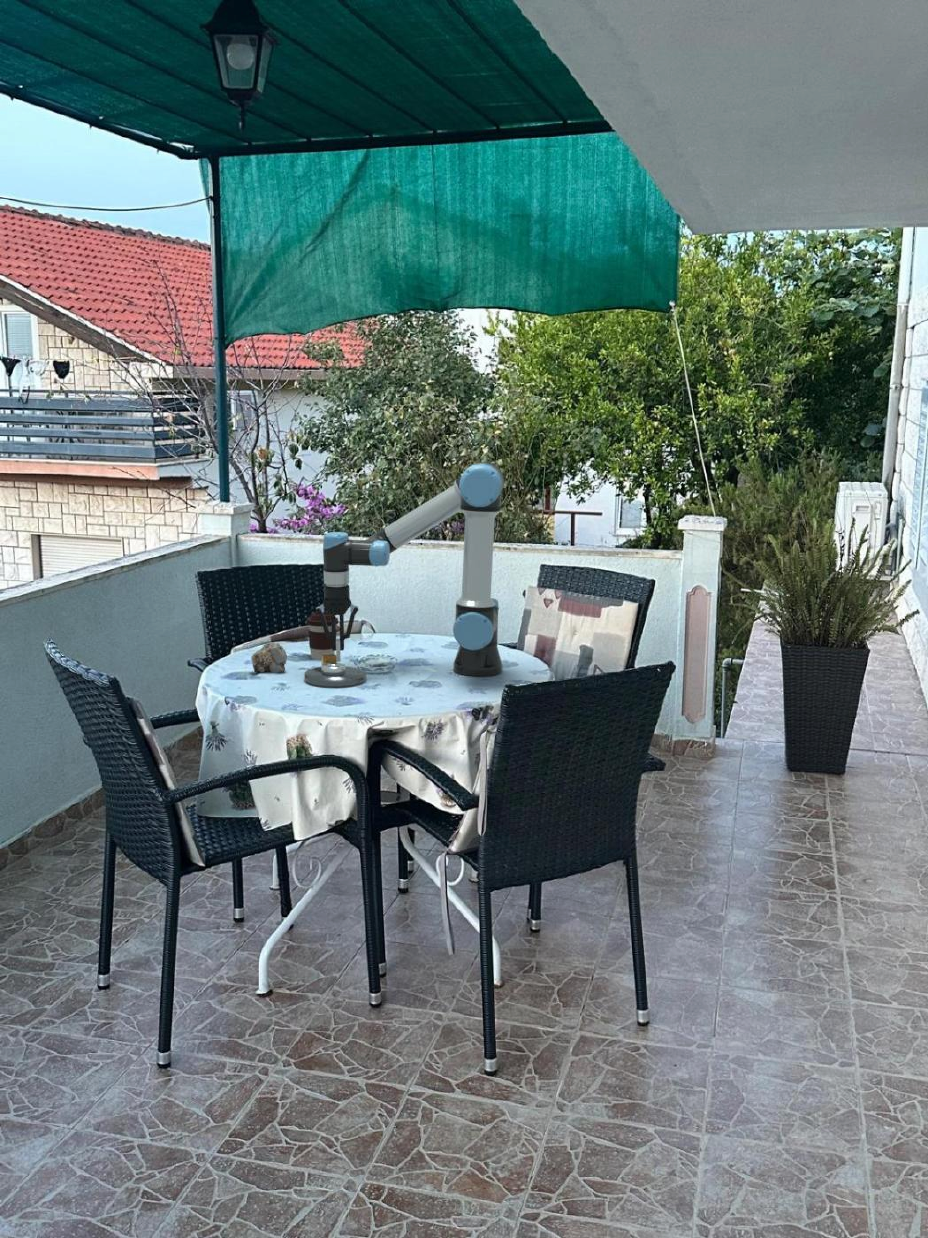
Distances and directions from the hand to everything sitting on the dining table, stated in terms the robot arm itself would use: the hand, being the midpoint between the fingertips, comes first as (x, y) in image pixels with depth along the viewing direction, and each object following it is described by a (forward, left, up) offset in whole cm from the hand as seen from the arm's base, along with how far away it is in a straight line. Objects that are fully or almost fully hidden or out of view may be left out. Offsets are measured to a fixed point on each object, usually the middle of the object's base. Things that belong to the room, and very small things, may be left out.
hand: (338, 660), depth 352 cm
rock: (+20, +6, -4) cm, 21 cm away
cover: (-3, +11, -1) cm, 11 cm away
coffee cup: (+12, -15, -4) cm, 19 cm away
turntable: (-3, +9, -3) cm, 10 cm away
